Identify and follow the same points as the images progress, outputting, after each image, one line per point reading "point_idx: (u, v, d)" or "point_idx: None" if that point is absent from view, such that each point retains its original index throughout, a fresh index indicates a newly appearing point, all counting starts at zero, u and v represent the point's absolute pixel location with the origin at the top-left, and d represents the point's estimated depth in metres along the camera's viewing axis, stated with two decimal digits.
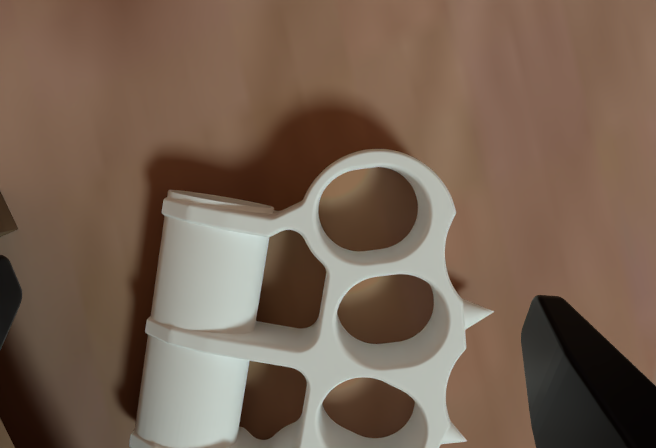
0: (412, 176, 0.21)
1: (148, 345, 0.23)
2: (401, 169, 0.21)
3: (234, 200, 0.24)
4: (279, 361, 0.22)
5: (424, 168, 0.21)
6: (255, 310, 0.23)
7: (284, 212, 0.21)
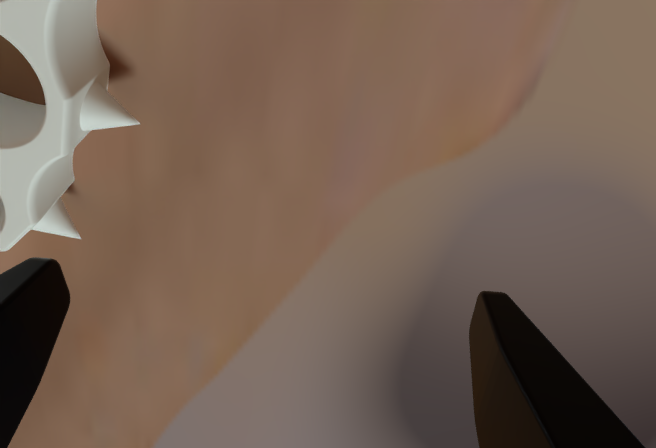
0: None
1: None
2: None
3: None
4: None
5: None
6: None
7: None
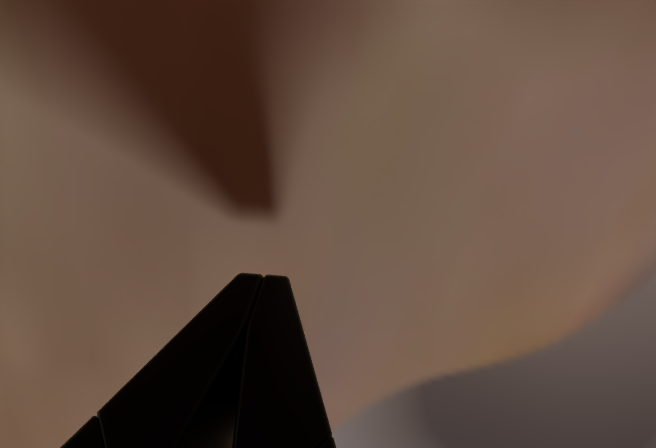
0: None
1: None
2: None
3: None
4: None
5: None
6: None
7: None
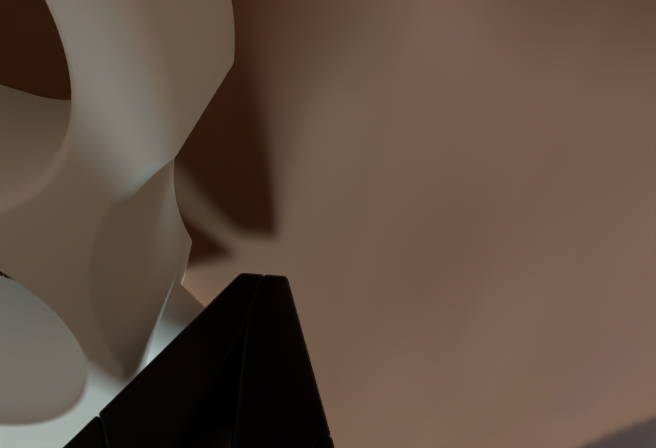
0: None
1: None
2: None
3: None
4: None
5: None
6: None
7: None
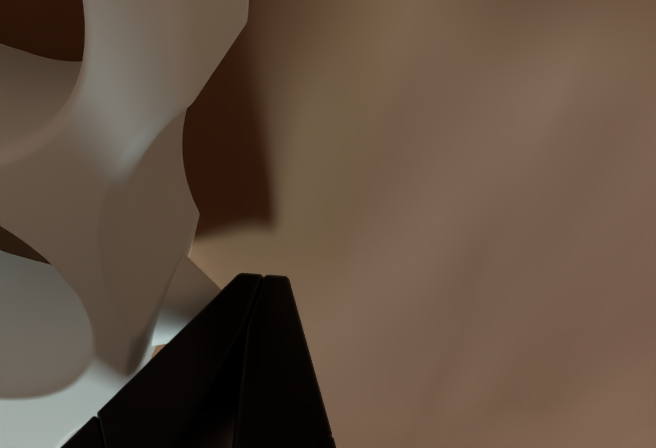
0: None
1: None
2: None
3: None
4: None
5: None
6: None
7: None
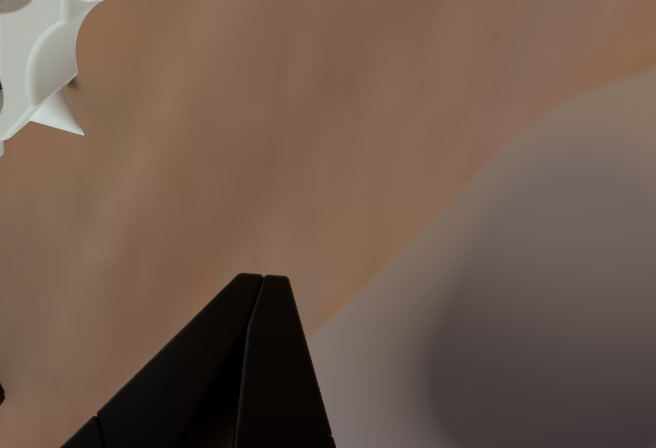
0: None
1: None
2: None
3: None
4: None
5: None
6: None
7: None
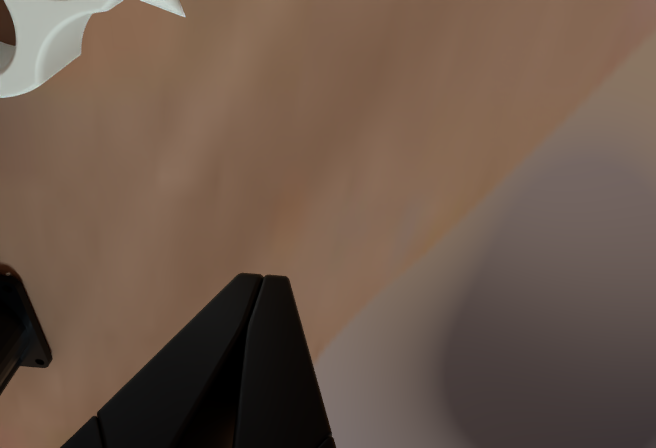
0: None
1: None
2: None
3: None
4: None
5: None
6: None
7: None
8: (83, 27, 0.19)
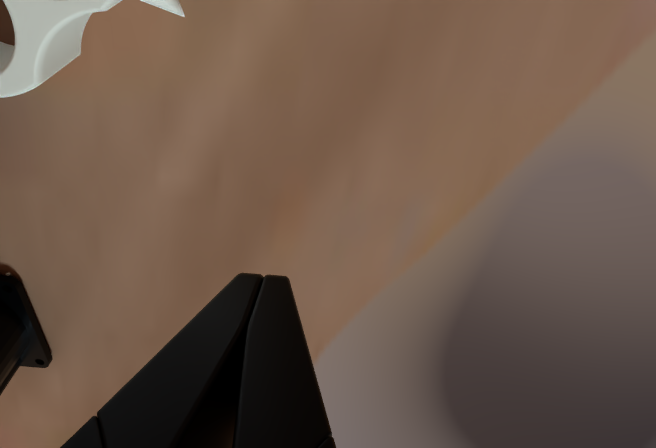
0: None
1: None
2: None
3: None
4: None
5: None
6: None
7: None
8: (82, 27, 0.19)
